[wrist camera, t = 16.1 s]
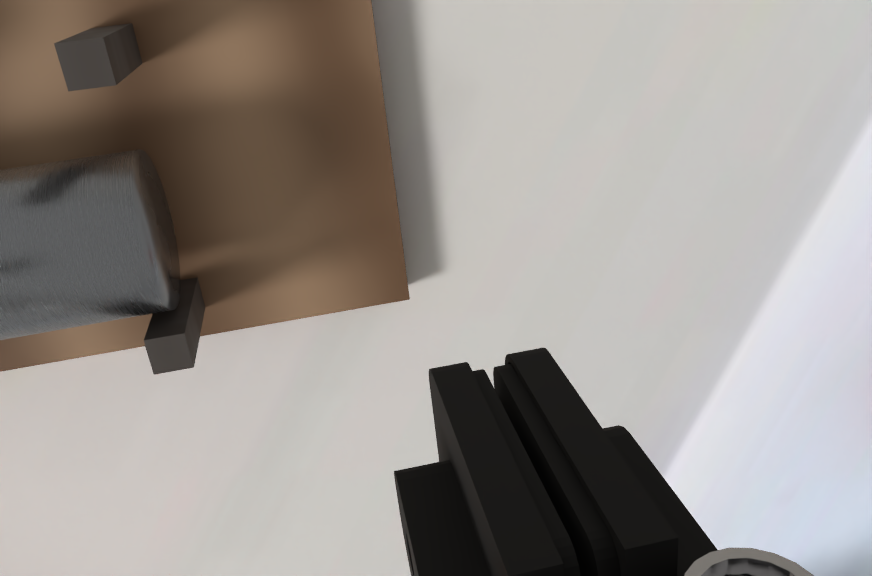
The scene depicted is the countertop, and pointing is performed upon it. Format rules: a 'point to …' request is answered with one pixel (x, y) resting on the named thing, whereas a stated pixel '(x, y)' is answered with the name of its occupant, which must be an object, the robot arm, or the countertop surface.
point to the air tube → (84, 244)
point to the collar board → (216, 153)
